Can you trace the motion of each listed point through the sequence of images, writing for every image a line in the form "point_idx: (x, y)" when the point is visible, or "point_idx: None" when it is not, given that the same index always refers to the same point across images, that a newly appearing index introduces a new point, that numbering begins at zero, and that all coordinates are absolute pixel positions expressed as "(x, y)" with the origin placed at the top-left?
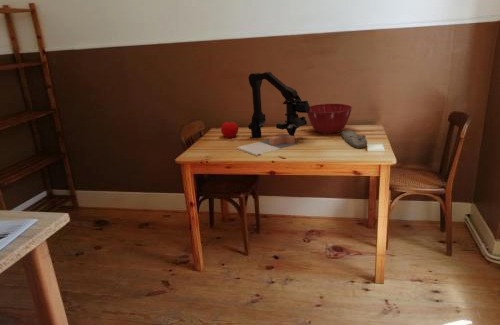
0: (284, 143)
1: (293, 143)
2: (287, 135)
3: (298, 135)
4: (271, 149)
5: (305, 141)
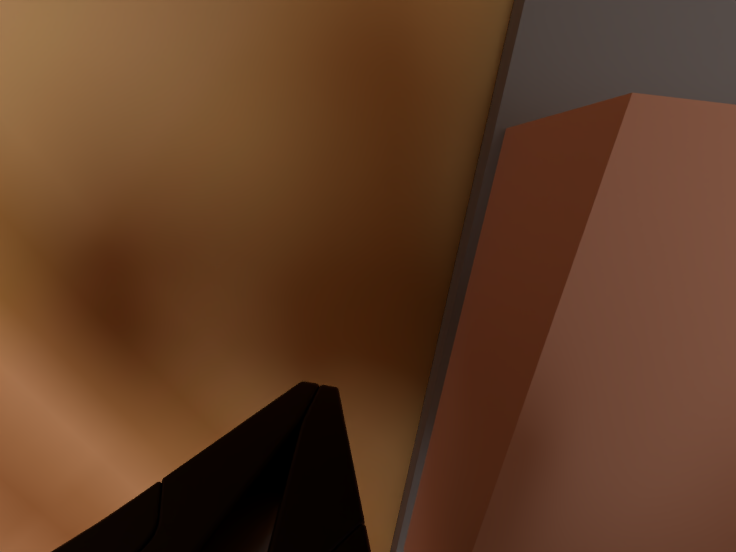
0: None
1: None
2: (638, 517)
3: (7, 487)
4: None
5: (114, 138)
